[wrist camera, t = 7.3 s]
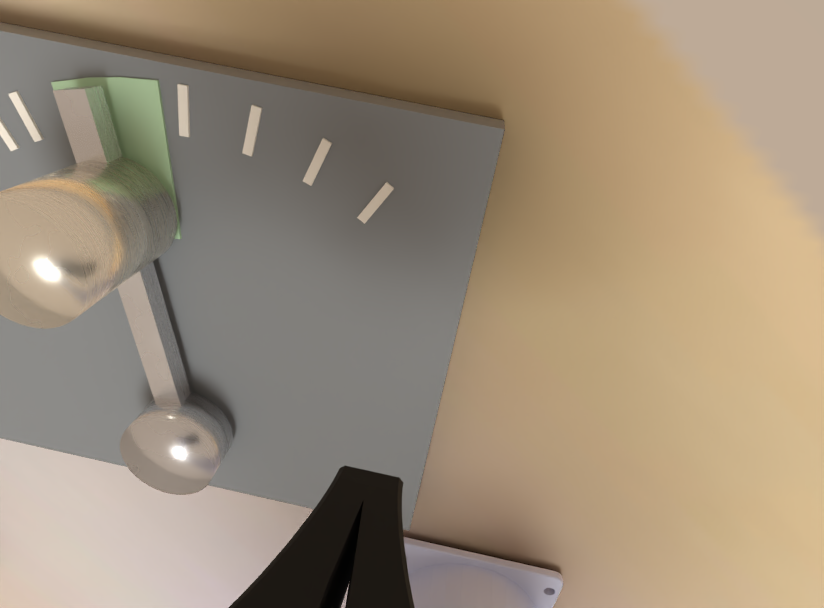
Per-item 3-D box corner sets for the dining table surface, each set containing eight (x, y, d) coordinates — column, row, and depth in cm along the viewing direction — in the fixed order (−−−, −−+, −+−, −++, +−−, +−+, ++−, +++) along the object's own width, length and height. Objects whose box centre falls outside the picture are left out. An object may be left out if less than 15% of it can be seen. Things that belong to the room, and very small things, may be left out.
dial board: (413, 503, 25) (408, 532, 24) (14, 414, 26) (-13, 437, 25) (503, 120, 17) (504, 130, 16) (-79, 6, 18) (-127, 6, 17)
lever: (240, 463, 23) (186, 560, 19) (159, 459, 24) (89, 552, 19) (143, 83, 16) (26, 108, 12) (31, 88, 17) (-115, 114, 13)
